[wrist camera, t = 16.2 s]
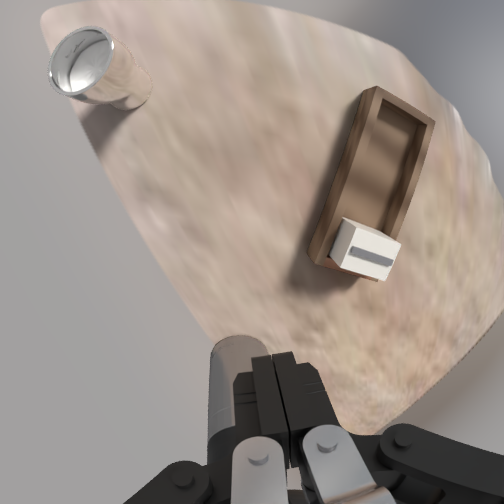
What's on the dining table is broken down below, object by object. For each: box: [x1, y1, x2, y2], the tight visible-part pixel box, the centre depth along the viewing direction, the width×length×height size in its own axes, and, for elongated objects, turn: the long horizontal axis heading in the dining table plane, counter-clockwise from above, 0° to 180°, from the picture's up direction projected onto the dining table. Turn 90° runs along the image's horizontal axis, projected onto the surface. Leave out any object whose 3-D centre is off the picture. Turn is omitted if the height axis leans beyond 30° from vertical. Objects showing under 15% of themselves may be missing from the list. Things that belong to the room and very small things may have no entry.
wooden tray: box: [307, 86, 435, 282], centre depth 36 cm, size 24×10×4 cm, turn 162°
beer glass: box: [48, 26, 152, 110], centre depth 24 cm, size 7×7×15 cm
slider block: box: [328, 217, 401, 281], centre depth 36 cm, size 5×7×6 cm
